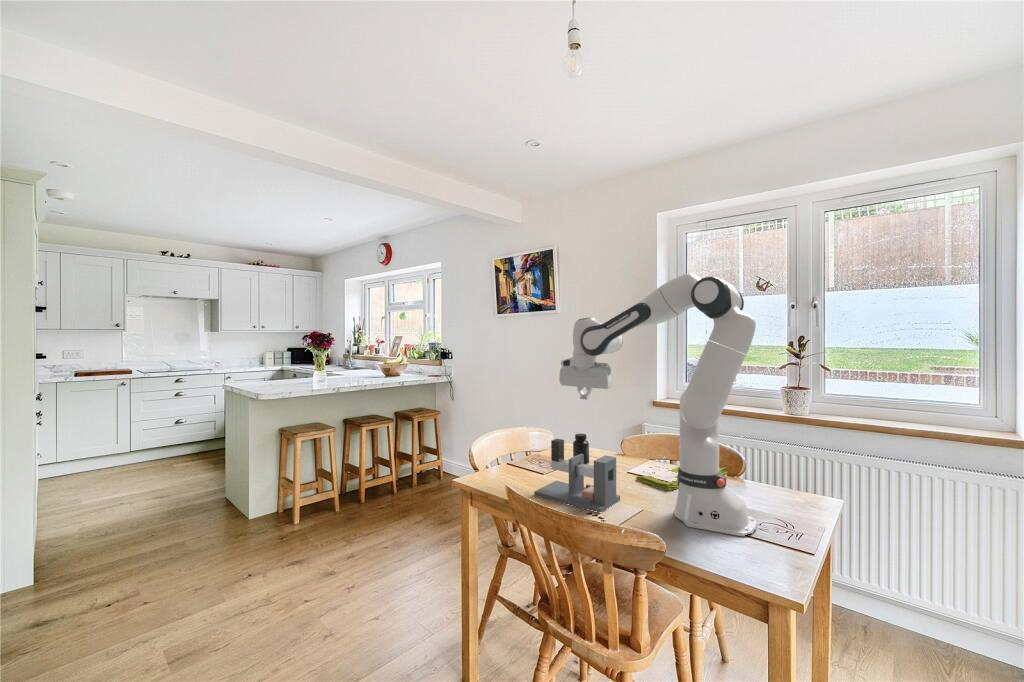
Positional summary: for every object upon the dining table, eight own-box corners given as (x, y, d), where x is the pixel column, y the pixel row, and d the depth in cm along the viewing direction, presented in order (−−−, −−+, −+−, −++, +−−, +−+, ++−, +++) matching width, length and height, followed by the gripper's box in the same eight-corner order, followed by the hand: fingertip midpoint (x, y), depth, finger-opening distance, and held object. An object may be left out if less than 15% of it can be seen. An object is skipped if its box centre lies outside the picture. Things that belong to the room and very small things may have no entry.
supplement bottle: (584, 459, 197) (583, 432, 196) (592, 463, 190) (592, 435, 190) (570, 461, 194) (570, 433, 194) (577, 465, 188) (577, 437, 187)
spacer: (591, 486, 151) (591, 493, 151) (581, 491, 147) (581, 498, 147) (601, 488, 149) (601, 496, 149) (592, 493, 144) (592, 501, 144)
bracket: (620, 500, 149) (620, 455, 149) (600, 513, 138) (600, 465, 138) (556, 484, 165) (556, 443, 164) (534, 495, 153) (534, 452, 153)
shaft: (606, 477, 146) (606, 446, 146) (601, 480, 144) (601, 449, 143) (556, 466, 158) (556, 438, 158) (551, 469, 155) (551, 440, 155)
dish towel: (634, 481, 169) (634, 473, 169) (694, 465, 188) (694, 458, 188) (668, 493, 156) (668, 484, 156) (728, 475, 175) (728, 467, 175)
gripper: (614, 362, 161) (614, 400, 162) (565, 360, 174) (565, 395, 174) (606, 363, 156) (606, 403, 157) (557, 361, 169) (557, 397, 169)
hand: (584, 399), depth 166 cm, fingers closed
